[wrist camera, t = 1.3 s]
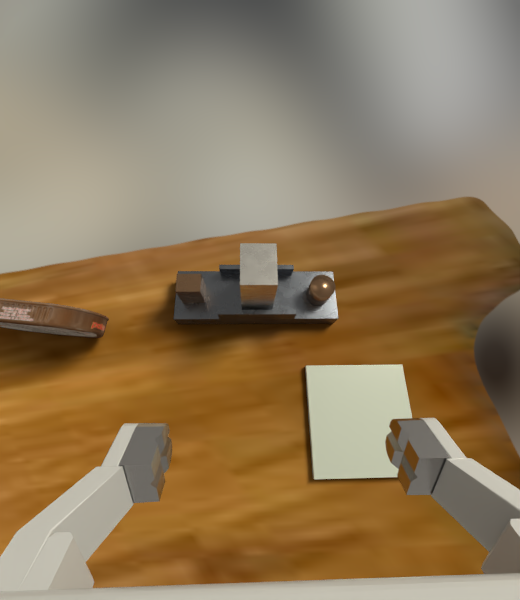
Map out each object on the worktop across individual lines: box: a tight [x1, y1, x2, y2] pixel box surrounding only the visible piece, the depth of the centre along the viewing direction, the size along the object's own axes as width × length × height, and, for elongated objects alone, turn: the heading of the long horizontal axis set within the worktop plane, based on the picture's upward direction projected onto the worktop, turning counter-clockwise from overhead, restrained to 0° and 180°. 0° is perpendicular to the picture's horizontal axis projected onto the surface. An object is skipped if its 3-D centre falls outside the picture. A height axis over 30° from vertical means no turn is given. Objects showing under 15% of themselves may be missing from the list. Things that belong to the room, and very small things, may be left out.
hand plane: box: [174, 265, 338, 324], centre depth 38 cm, size 22×7×6 cm, turn 91°
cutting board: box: [305, 365, 412, 479], centre depth 36 cm, size 13×13×1 cm
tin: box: [0, 298, 109, 338], centre depth 35 cm, size 15×3×8 cm, turn 84°
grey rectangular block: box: [240, 244, 278, 310], centre depth 35 cm, size 4×5×9 cm
